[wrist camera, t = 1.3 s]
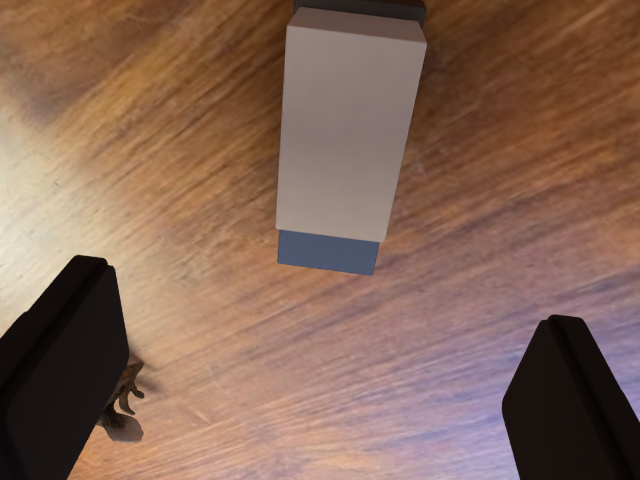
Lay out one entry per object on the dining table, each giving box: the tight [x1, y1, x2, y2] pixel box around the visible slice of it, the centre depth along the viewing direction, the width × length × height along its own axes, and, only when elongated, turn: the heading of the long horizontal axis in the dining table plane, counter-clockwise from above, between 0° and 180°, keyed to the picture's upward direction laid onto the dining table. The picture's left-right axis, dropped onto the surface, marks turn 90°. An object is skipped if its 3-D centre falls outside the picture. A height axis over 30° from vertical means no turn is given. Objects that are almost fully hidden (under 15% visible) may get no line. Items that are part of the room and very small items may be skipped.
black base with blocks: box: [275, 0, 427, 275], centre depth 21 cm, size 12×5×5 cm, turn 174°
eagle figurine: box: [96, 362, 144, 443], centre depth 32 cm, size 8×7×9 cm
